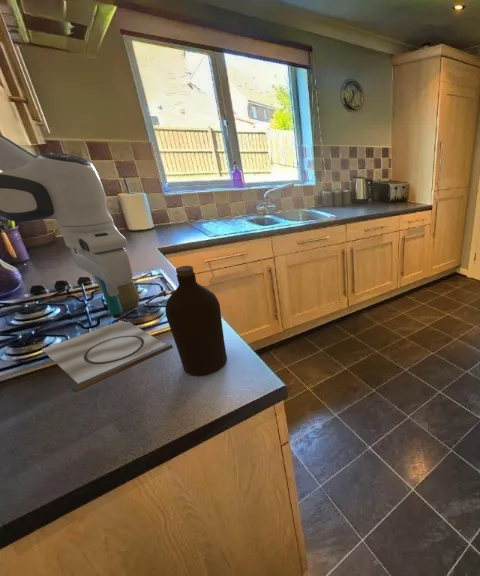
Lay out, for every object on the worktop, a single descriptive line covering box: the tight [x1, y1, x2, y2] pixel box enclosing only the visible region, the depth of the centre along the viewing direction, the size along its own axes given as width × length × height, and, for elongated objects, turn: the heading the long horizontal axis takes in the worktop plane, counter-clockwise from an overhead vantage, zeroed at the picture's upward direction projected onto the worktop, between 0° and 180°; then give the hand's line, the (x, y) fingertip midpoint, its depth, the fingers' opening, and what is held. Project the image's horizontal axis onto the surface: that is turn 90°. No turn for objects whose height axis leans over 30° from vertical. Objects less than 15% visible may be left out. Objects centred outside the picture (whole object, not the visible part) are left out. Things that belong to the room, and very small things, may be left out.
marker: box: [98, 278, 123, 319], centre depth 76 cm, size 2×2×12 cm
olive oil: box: [165, 265, 228, 377], centre depth 74 cm, size 11×11×25 cm
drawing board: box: [41, 320, 174, 393], centre depth 83 cm, size 24×20×1 cm
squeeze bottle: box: [118, 278, 141, 311], centre depth 99 cm, size 8×8×18 cm
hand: (109, 292), depth 76 cm, fingers closed on marker, 2 cm apart
